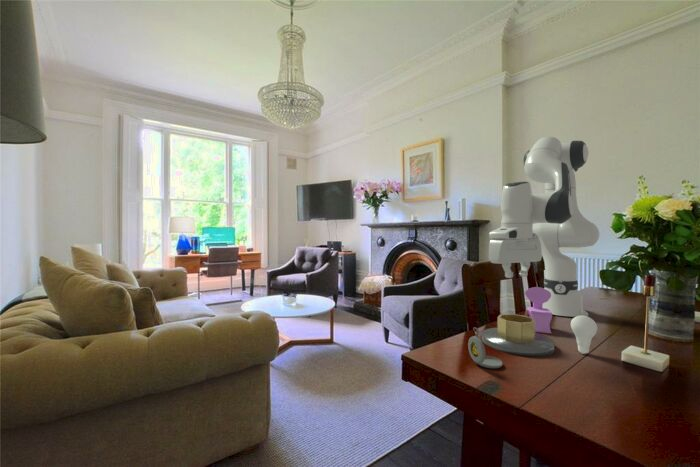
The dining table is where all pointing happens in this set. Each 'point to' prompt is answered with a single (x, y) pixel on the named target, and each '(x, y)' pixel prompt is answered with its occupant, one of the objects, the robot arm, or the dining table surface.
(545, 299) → the toy chair
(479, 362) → the pocket watch
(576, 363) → the dining table surface
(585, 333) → the lightbulb
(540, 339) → the lamp base
